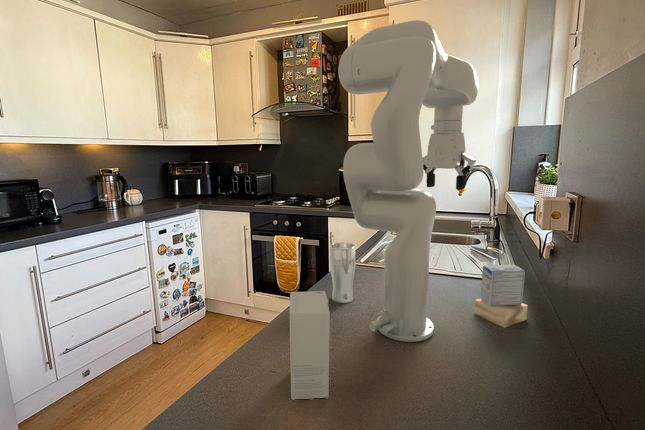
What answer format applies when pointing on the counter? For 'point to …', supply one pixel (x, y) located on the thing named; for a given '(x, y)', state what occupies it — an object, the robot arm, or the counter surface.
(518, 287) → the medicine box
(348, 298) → the beer glass
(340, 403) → the counter surface
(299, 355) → the skincare box
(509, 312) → the oak block
